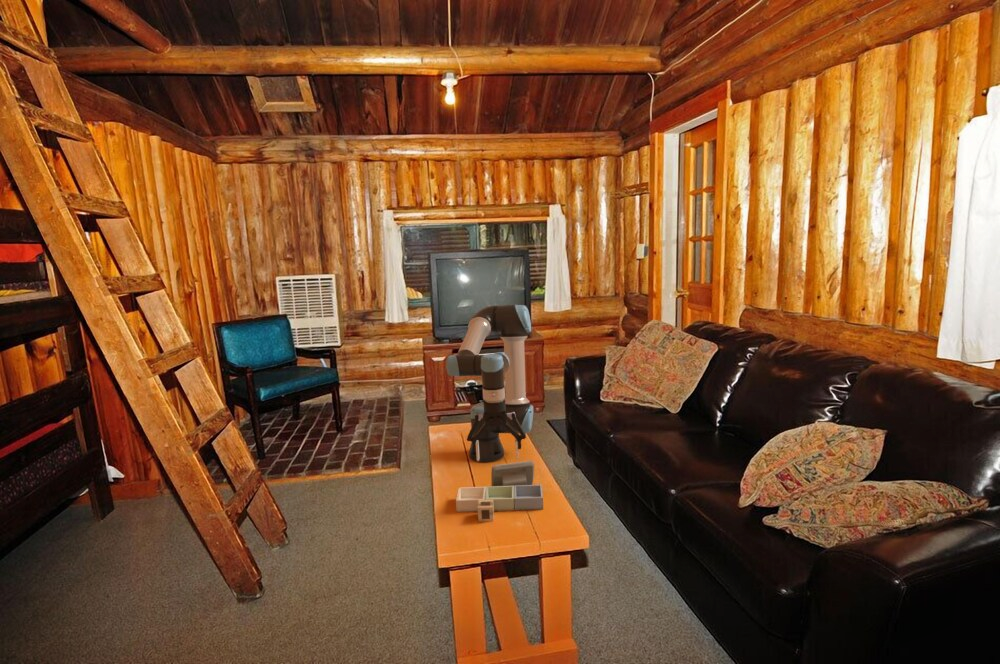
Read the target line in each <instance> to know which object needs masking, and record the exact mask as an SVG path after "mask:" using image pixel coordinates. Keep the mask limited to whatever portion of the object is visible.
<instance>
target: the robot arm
mask: <svg viewBox="0 0 1000 664" xmlns="http://www.w3.org/2000/svg"><path fill="white" fill-rule="evenodd" d="M467 329H468V330H467V332H466V334H465V336H464V339H463V340H462V343H461V345H460V347H459V349H458V352H457V354H453V355H449V356H448V357H447V358H446V363H445V364H446V365H445V366H446V367H445V368H446V371H447V372H446V373H447V374H448V375H449V376H452V377H481V385H482V399H483V401H481V402H479V403H476V404H474V405H473V406H472V407H471V408H470V417H469V418H470V427H471V429H469V433H468V435H467V436H466V437H467V438H466V441H468V442H471V443H470V446H469V450H468V457H469V459H470V460H471V461H473V462H477V463H493V462H496V461H499V460H501V459H502V458H504V456H505V449H504V445H503V443H502V440H501V439H500V434H511V436H513V437H514V439H515V440H514V441H515V442H514V443H515V460H519V450H521V449H522V440H526V438H527V434H529V433H530V431H531V430H532V426H533V420H534V406H533V405H532V404H531V403H530V402H531V401H530V400H529V399H528V398H527V394H526V387H527V386H526V361H525V357H526V356H525V341H526V339H528V337H529V336H528V334H529V333H531V332H532V322H531V317H530V312H529V309H528V307H527V305H524V304H507V305H506V304H505V305H490V306H486V307H484V308H482V309H480V310H478V311H477V312H476V313H475V314H473V316H472V317H471V318H470V319H469V323H468V325H467ZM490 334H499V338H500V339H501V340H502V342H503V352H501V351H498V352H494V353H486V354H480V352H481V350H482V347H483V345H484V342H485V339H486V337H488V336H489V335H490Z"/></svg>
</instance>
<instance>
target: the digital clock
mask: <svg viewBox="0 0 1000 664" xmlns="http://www.w3.org/2000/svg"><path fill="white" fill-rule="evenodd" d="M534 475H535V462H534V461H532V460H525V461H518V462H511V463H510V462H509V463H501V464H500V463H499V464H496V465H493V466H492V467H491V486H517V485H534Z"/></svg>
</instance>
